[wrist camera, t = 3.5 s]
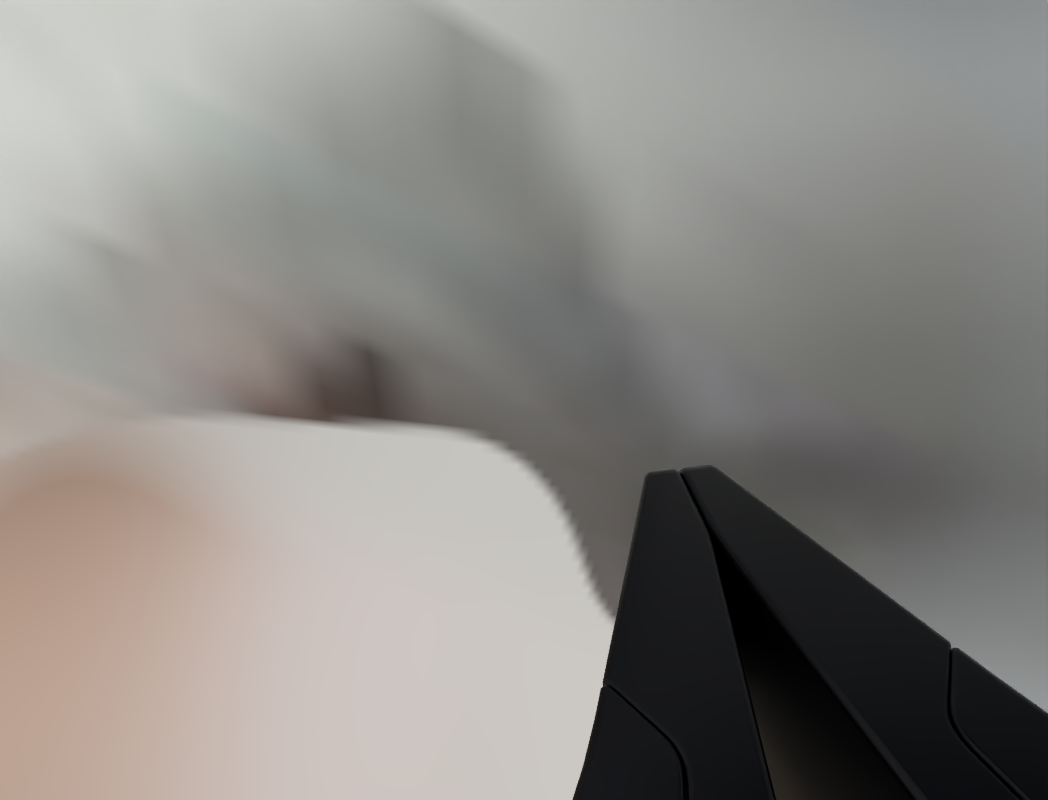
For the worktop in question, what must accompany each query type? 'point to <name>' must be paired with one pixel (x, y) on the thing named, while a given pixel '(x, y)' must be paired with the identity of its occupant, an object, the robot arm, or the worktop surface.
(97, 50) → the worktop surface
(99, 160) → the worktop surface
